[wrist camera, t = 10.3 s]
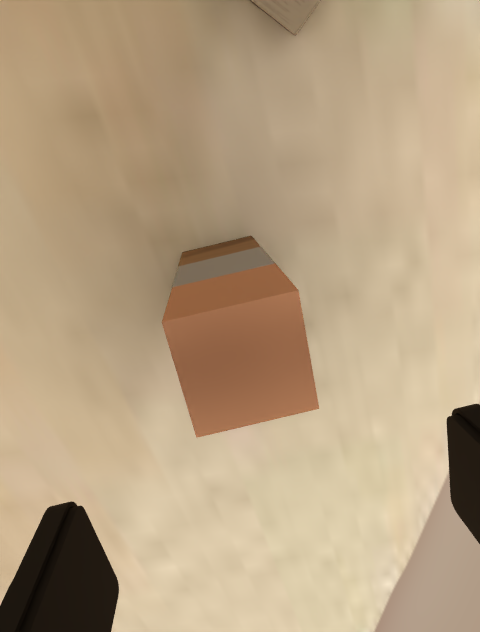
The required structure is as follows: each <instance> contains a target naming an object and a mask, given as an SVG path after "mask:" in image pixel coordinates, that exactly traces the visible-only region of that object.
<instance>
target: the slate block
mask: <svg viewBox="0 0 480 632" xmlns="http://www.w3.org/2000/svg"><path fill="white" fill-rule="evenodd" d="M270 264H274V262H273V261H272V259H271V258H270V257H269V256H268V255H267V253H266V252H265V251H264V250H263V249H262V248H261V247H257V248H253V249H249V250H244V251H240V252H236V253H232V254H228V255H224V256H220V257H215V258H211V259H207V260H203V261H199V262H195V263H191V264H186V265H182V266H178V269H177V273H176V276H175V279H174V282H173V285H172V287H176V286H180V285H184V284H189V283H193V282H197V281H201V280H206V279H210V278H214V277H219V276H223V275H227V274H231V273H236V272H240V271H244V270H249V269H253V268H257V267H261V266H266V265H270Z"/></svg>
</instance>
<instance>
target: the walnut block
mask: <svg viewBox="0 0 480 632" xmlns="http://www.w3.org/2000/svg"><path fill="white" fill-rule="evenodd" d="M257 247H260V246H259V244H258V243H257V242H256V241H255V240H254V238H253V237H252V236H248V237H244V238H240V239H236V240H232V241H227V242H223V243H219V244H215V245H211V246H207V247H203V248H198V249H194V250H190V251H186V252H183V253H182V256H181V259H180V262H179V265H178V266H182V265H186V264H191V263H195V262H199V261H203V260H207V259H211V258H215V257H220V256H224V255H228V254H232V253H236V252H240V251H244V250H249V249H253V248H257Z"/></svg>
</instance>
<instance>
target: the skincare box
mask: <svg viewBox="0 0 480 632" xmlns="http://www.w3.org/2000/svg"><path fill="white" fill-rule="evenodd" d="M251 1H252V2H254V3H255V4H256V5H257V6H259V7H260V8H261V9H262V10H264V11H265V12H266V13H267V14H269V15H270V16H271V17H272V18H274V19H275V20H276V21H277V22H279V23H280V24H281V25H282V26H284V27H285V28H286V29H287V30H289V31H290V32H291V33H292V34H294V35H296V34H297V33H298V32H299V30H300V29H301V28H302V26H303V25H304V23H305V22H306V20H307V19H308V17H309V16H310V15H311V13H312V12H313V10H314V9H315V8H316V6H317V5H318V3H319V2H320V1H321V0H251Z"/></svg>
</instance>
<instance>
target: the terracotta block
mask: <svg viewBox="0 0 480 632" xmlns="http://www.w3.org/2000/svg"><path fill="white" fill-rule="evenodd" d="M162 324H163V328H164V331H165V334H166V338H167V341H168V344H169V348H170V351H171V354H172V357H173V361H174V364H175V367H176V371H177V374H178V377H179V381H180V384H181V387H182V391H183V394H184V397H185V401H186V404H187V407H188V410H189V414H190V417H191V420H192V424H193V427H194V430H195V434H196V437H201V436H205V435H210V434H214V433H218V432H222V431H227V430H231V429H235V428H239V427H243V426H248V425H252V424H256V423H260V422H265V421H269V420H273V419H277V418H281V417H286V416H290V415H294V414H298V413H303V412H307V411H311V410H315V409H319V405H318V399H317V394H316V388H315V382H314V377H313V371H312V365H311V360H310V354H309V348H308V343H307V337H306V331H305V326H304V320H303V314H302V308H301V303H300V297H299V291H298V289H297V288H296V287H295V286H294V285H293V283H292V282H291V281H290V280H289V279H288V278H287V276H286V275H285V274H284V273H283V272H282V271H281V269H280V268H279V267H278V266H277V265H276V264H275V263H274V264H270V265H266V266H261V267H257V268H253V269H249V270H244V271H240V272H236V273H231V274H227V275H223V276H219V277H214V278H210V279H206V280H201V281H197V282H193V283H189V284H184V285H180V286H176V287H172V291H171V294H170V297H169V300H168V304H167V307H166V310H165V313H164V317H163V320H162Z"/></svg>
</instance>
